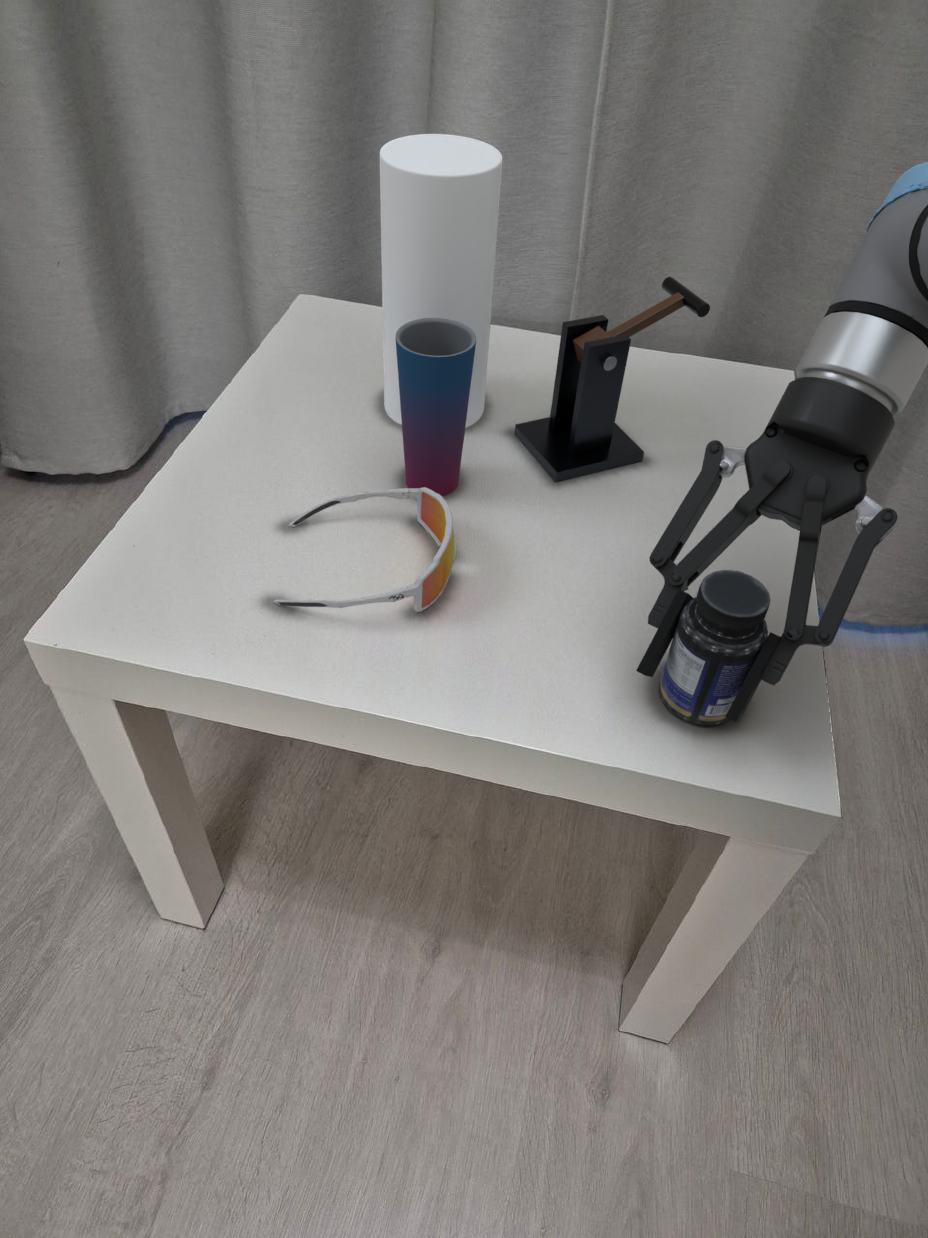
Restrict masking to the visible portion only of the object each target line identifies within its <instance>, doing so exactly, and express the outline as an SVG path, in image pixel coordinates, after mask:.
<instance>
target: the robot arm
mask: <svg viewBox="0 0 928 1238" xmlns="http://www.w3.org/2000/svg"><path fill="white" fill-rule="evenodd" d="M927 365H928V161H925V162H922V163H919V164H917V165H914V166H912V167H910V168H909V169H907V170H905V171H904V172H903V173H902V174H901V175H899V177H898V178H897V179H896V181H895V183H894V184H893V185H892V187H891V189H890V190H889V192H888V194H887V196H886V198H885V199H884V201H883V203H882V204H881V205H880V206H879V207H878V208H877V209H876V211H875V212H874V214H873V218H871V219H870V221H869V223H868V226H867V228H866V232H865V235H864V236H863V238H862V240H861V242H860V245H859V246H858V247H857V250H856V253H855V255H854V256H853V258H852V260H851V263H850V265H849V267H848V269H847V270H846V273H845V275H844V276H843V279H842V281H841V283H840V285H839V286H838V289H837V291H836V292H835V295H834V296H833V298H832V300H831V302H830V304H829V306H828V308H827V310H826V313H825V314H824V317H823V318H822V320H821V321H820V322H819V324H818V327H817V328H816V330H815V332H814V334H813V336H812V338H811V339H810V342H809V343H808V345H807V347H806V349H805V351H804V353H803V355H802V356H801V359H800V361H799V363H798V365H797V366H796V369H795V372H796V373H795V374H796V375H797V378H795V379H794V380H791V381H790V382H789V383H788V384H787V386H786V388H785V390H784V392H783V394H782V395H781V398H780V400H779V401H778V403H777V405H776V407H775V409H774V410H773V413H772V415H771V416H770V419H769V421H768V423H767V425H766V426H765V428H764V430H763V432H762V434H760V436H759V437H758V438H757V439H755V440H754V441H753V442H751V443H749V445H748V446H747V447H739V446H738V447H737V446H730V445H729V446H728V445H723V443H722V442H721V441H720V440H716V439H713V440H711V441H709V442H708V443H707V445H706V446H705V451H704V455H703V460H702V466H701V469H700V470H701V471H700V472H699V474H698V475H697V477H696V479H695V480H694V482H693V483H692V485H691V487H690V488H689V490H688V492H687V494H686V495H685V496H684V498H683V500H682V501H681V503H680V505H679V507H678V508H677V510H676V512H675V513H674V515H673V517H672V518H671V519H670V521H669V523H668V525H667V527H665V530H664V531H663V533H662V534H661V536H660V538H659V540H658V541H657V543H656V545H655V546H654V548H653V550H652V551H651V553H650V555H649V562H650V565H652V566H653V567H654V568H655V569H656V570H657V572H658V573H659V574H660V575H661V576H662V577H663V580H664V583H663V587H662V588H661V591H660V592H659V595H658V597H657V599H656V600H655V602H654V604H653V606H652V608H651V610H650V612H649V614H648V616H647V624H648V625H649V626H652V627H654V628H655V629H656V631H655V633H654V636H653V637H652V640H651V641H650V643H649V645H648V646H647V649H646V651H645V653H644V655H643V656H642V659H641V660H640V663H639V664H638V666H637V668H636V670H635V672H637V673H639V674H641V675H642V676H645V677H648V678H649V677H650V678H653V677H654V676H655V673H656V671H657V669H658V668H659V666H660V664H661V662H662V660H663V658H664V656H665V654H666V652H667V650H668V648H669V646H671V643H672V640H673V637H674V634H675V630H676V627H677V623H678V620H679V616H680V613H681V612H682V609H683V608H684V606H685V605H686V604H687V603H688V602H689V601H690V600H692V599H693V598H694V597H693V596H692V595H691V594H690V593H688V592H687V591H689V587H690V586H691V584H693V583H694V582H695V581H696V580H697V579H698V578H699V577H700V576H701V574H703V572H705V571H706V570H707V569H708V567H710V566H711V565H712V564H713V563H714V562H715V561H716V560H717V559H718V558H719V557H720V556H721V555H722V554H723V553H724V551H726V550H727V549H728V548H729V547H730V546H731V545H732V544H733V543H734V542H735V541H736V540H737V539H738V538H739V537H740V536H741V535H742V534H743V533H744V532H745V531H746V530H747V528H749V527H750V526H752V525H754V523H756V522H757V521H758V520H759V518H760V517H761V516H763V517H765V518H767V519H770V520H775V521H777V520H778V521H782V522H784V523H785V524H786V525H787V526H788V527H790V529H791V528H792V529H794V530H796V531H798V532H799V535H798V542H797V550H796V556H795V561H794V566H793V574H792V578H791V579H792V580H791V585H790V592H789V598H788V604H787V610H786V617H785V623H784V628H783V632H782V634H781V636H780V635H778V634H775V633H773V632H772V631H770V632H768V637H767V639H766V641H765V643H764V645H763V646H762V648H761V650H760V652H759V654H758V656H757V658H756V660H755V662H754V663H753V665H752V667H751V669H750V671H749V673H748V675H747V677H746V679H745V680H744V682H743V684H742V686H741V688H740V690H739V692H738V694H737V695H736V697H735V699H734V701H733V703H732V705H731V707H730V709H729V711H728V712H727V714H726V716H725V717H726V718H728V719H729V720H730V721H731V722H733V723H740V721H741V719H742V717H743V716H744V713H745V712H746V709H747V707H748V706H749V704H750V702H751V700H752V699H753V697H754V695H755V693H756V691H757V689H758V687H759V685H760V683H761V682H765V683H767V684H769V685H771V686H773V687H775V686H776V685H777V684H778V683H779V682H781V680H782V678H783V676H784V674H785V672H786V670H787V669H788V667H789V665H790V663H791V661H792V659H793V657H794V656H795V654H796V652H797V650H798V649H799V648H800V647H803V646H806V645H807V646H815V647H816V646H817V647H822V648H826V647H830V646H832V644H833V642H834V640H835V638H836V636H837V633H838V631H839V629H840V627H841V624H842V623H843V620H844V618H845V615H846V613H847V611H848V609H849V607H850V605H851V602H852V600H853V598H854V595H855V592H856V591H857V588H858V586H859V584H860V582H861V580H862V577H863V574H864V572H865V570H866V568H867V566H868V563H869V561H870V558H871V557H872V555H873V552H874V550H875V549H876V547H877V546H879V544H881V543H882V541H883V540H885V539H886V537H887V536H889V534H890V533H891V532H892V531H893V530H894V529H895V528H896V527H895V526H896V523H897V521H898V512H897V511H895V510H894V509H893V508H889V507H883V506H881V505H880V504H879V503H877V502H876V501H875V500H874V499H872V498H871V497H870V496H868V495H867V492H868V487H867V486H868V485H867V481H868V478H869V475H870V473H871V471H872V469H873V467H874V466H875V464H876V462H877V460H878V458H879V456H880V454H881V452H882V451H883V449H884V447H885V445H886V443H887V441H888V439H889V437H890V435H891V433H892V431H893V430H894V428H895V426H896V422H895V418H894V416H896V415H898V414H900V413H902V412H903V411H904V410H905V407H906V406H907V403H908V402H909V400H910V398H911V396H912V394H913V392H914V390H915V388H916V387H917V385H918V382H919V381H920V379H921V377H922V375H923V373H924V371H925V369H926V367H927ZM740 466H741V467H742V466H744V467H745V474H746V478H747V479H746V480H747V484H748V485H747V486H748V490H747V491H746V492H745V493H744V494H743V495H742V496H741V497H740V498H739V499H738V501H737V502H735V504H734V506H733V507H732V508H731V509H730V510H729V512H727V513H726V514H725V516H723V518H721V520H720V521H718V522H717V524H716V525H715V526H714V527H712V529H711V530H710V531H709V532H708V533H706V535H705V536H704V537H703V538H702V539H701V540H700V541H699V542H698V543H696V544H695V546H694V547H693V548H692V549H691V550H690V551H688V552H687V554H686V555H685V556H684V557H683V558H682V559H681V560H680V561H679V562H678V563H677V564H676V563H675V561H676V560H677V558H678V556H679V554H680V553H681V552H682V550H683V548H684V546H685V545H686V543H687V542H688V540H689V539H690V537H691V535H692V534H693V532H694V530H695V529H696V527H697V525H698V524H699V522H700V520H701V519H702V517H703V515H704V513H705V512H706V510H707V509H708V507H709V505H710V503H711V502H712V501H713V499H714V497H715V496H716V494H717V492H718V490H719V488H720V486H721V484H722V481H723V479H726V478H730V477H731V476H732V475H734V473H735V471H736V469H737V468H738V467H740ZM854 510H855V511H856V512H857V514H858V517H857V518H856V521H855V530H856V532H857V533H858V535H857V537H856V539H855V541H854V542H853V545H852V547H851V550H850V552H849V554H848V557H847V559H846V561H845V562H844V565H843V568H842V570H841V572H840V574H839V577H838V579H837V581H836V583H835V586H834V587H833V590H832V593H831V595H830V597H829V599H828V601H827V604H826V606H825V608H824V611H823V612H822V615H821V617H820V620H819V621H818V624H817V625H810V624H807V619H808V613H809V607H810V599H811V594H812V588H813V582H814V576H815V571H816V564H817V563H816V562H817V556H818V551H819V544H820V540H821V533H822V529H823V528H822V527H823V526H824V525H827V524H828V523H830V522H832V521H834V520H836V519H838V518H840V517H842V516H845V515H846V514H848V513H849V512H852V511H854ZM729 720H728V721H729Z"/></svg>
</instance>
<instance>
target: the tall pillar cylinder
mask: <svg viewBox="0 0 928 1238" xmlns="http://www.w3.org/2000/svg"><path fill="white" fill-rule="evenodd" d="M502 173H503V155H502V153H501V152H500V151H499V150H498V149H497V148H496V147H495V146H493V145H492V144H490V143H487V142H486V141H482V140H479V139H477V138H476V139H475V138H472V137H468V136H464V135H463V136H462V135H456V134H448V133H419V134H411V135H405V136H401V137H398V138H394V139H392V140H390V141H388V142H386V143H384V145H382V147H380V150H379V192H380V193H379V194H380V195H379V197H380V198H379V199H380V200H379V201H380V250H381V251H380V252H381V253H380V254H381V255H380V256H381V303H382V304H381V306H382V307H381V309H382V310H381V311H382V357H383V358H382V361H383V364H382V365H383V403H384V410H385V412H386V414H387V416H388V417H389V418H390V419H391V420H393V421H394V423H396V424H398V425H400V426H402V420H401V406H400V393H399V379H398V366H397V352H396V339H395V336H396V332H397V330H398V329H399V328H400V327H401V326H402V325H404V324H405V323H408V322H410V321H413V320H417V319H422V318H444V319H450V320H454V321H457V322H460V323H462V324H464V325H466V326H468V327H469V328H471V329H472V331H473V332H474V333H475V335H476V347H475V355H474V363H473V371H472V379H471V387H470V394H469V402H468V410H467V418H466V426H465V429H467V428H469V427H470V426H472V425H474V424H476V423H477V422H478V421H479V420H480V419H481V417H482V416H483V415H484V411H485V404H486V403H485V402H486V390H487V389H486V388H487V375H488V363H489V362H488V361H489V347H490V337H491V335H490V333H491V321H492V309H493V307H492V306H493V295H494V294H493V293H494V283H495V268H496V255H497V243H498V242H497V241H498V227H499V226H498V225H499V215H500V214H499V213H500V200H501V199H500V198H501V187H502V175H503V174H502Z"/></svg>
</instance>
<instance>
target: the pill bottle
mask: <svg viewBox="0 0 928 1238" xmlns="http://www.w3.org/2000/svg"><path fill="white" fill-rule="evenodd" d="M770 605H771V595H770V592H769V590H768V588H766V586H765V585H764V583H762V582H761V581H760V580H758V579H757V578H756V577H754V576H753V575H750V574H748V573H745V572H743V571H739V570H733V569H721V570H715V571H712V572H711V573H709V574H707V575H706V576H705V577H704V578H703V579H702V581H701V583H700V584H699V587H698V590H697V592H696V596H695V597H693V599H692V600H690V601H689V602H688V603H687V604H686V605H685V606H684V608H683V609H682V612H681V613H680V616H679V620H678V623H677V627H676V630H675V634H674V637H673V639H672V641H671V643H670V647H669V650H668V653H667V656H666V660H665V663H664V667H663V670H662V673H661V676H660V679H659V685H658V691H659V695H660V699H661V701H662V703H663V704H664V706H665V707H666V709H667V710H668V711H669V712H671V713H672V714H673V715H674V716H676V717H677V718H678V719H681V720H682V721H685V722H687V723H691V724H694V725H700V726H716V725H720V724H723V723H725V722H727V721H729V719H728V718H726V717H725V716H726V714H727V712H728V711H729V709H730V707H731V705H732V703H733V701H734V699H735V697H736V695H737V694H738V692H739V690H740V688H741V686H742V684H743V682H744V680H745V679H746V677H747V675H748V673H749V671H750V669H751V667H752V665H753V663H754V662H755V660H756V658H757V656H758V654H759V652H760V650H761V648H762V646H763V645H764V643H765V641H766V639H767V637H768V635H769V629H768V624H767V621H766V620H765V619H766V617H767V614H768V611H769V608H770Z"/></svg>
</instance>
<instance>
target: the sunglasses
mask: <svg viewBox="0 0 928 1238" xmlns="http://www.w3.org/2000/svg"><path fill="white" fill-rule="evenodd" d="M377 497H380V498H381V497H386V498H393V499H398V500H405V499H411V500H416V506H417V507H416V509H417V512H416V513H417V514H416V520H417V523H419V524H420V525H421V526H422V528H424V529H425V530H426V532H427V533H428V535H430V537H432V538H433V540H434V541H435V544H437V546H438V548H437V552H436V554H435V555H434V556H433V558H432V562H431V563H430V564H429V566H427V568H426V569H425V570H424V571H423V572H422V573H421V574H420V575H419V576H418V577H417V578H416V579H415V581H414V582H413V583H411V584H408V585H405V586H402V587H399V588H395V589H393V590H389V591H386V592H383V593H379V594H375V595H369V596H364V597H360V598H351V599H341V600H340V599H339V600H335V599H274V600H273V603H275V604H276V605H278V606H281V607H294V608H296V607H297V608H299V607H300V608H330V609H331V608H335V609H344V608H349V607H354V606H361V605H367V604H379V603H396V602H399V601H401V600H404V599H407V598H411V597H413V611H414V612H416V613H420V612H421V613H422V612H423V611H425V610H427V609H428V608H429V607H431V606H432V605H433V604H434V603H435V602H437V600H438V599H439V597H440V596H441V595H442V593H443V592H444V590H445V588H446V587H447V584H448V582H449V580H450V577H451V573H452V572H453V567H454V564H455V560H456V557H457V549H458V543H457V541H455V534H454V526H453V525H454V518H453V515H452V510H451V508H450V506H449V504H448V502H447V501H446V500H445V498H444V496H441V495H440V494H439V493H438V494H437V493H435V492H434V491H432V490H430V489H428V488H426V487H422V488H408V487H403V488H401V487H400V488H388V489H379V490H378V489H377V490H369V491H364V492H359V493H352V494H345V495H339V496H336V497H333V498H330V499H328V500H326V501H323V502H321V503H319V504H317V505H315V506H314V507H312V508H310V509H308V510H307V511H305V512H304V513H302V514H301V515H299V516H298V517H296V518H295V519H293V520H292V521H291V522H289V524H288V526H289V527H291V528H295V527H297V526H299V525H300V524H302V523H303V522H305V521H306V520H308V519H310V518H311V517H313V516H315V515H316V514H319V513H320V512H322V511H325V510H327V509H329V508H331V507H334V506H337V505H342V504H346V503H354V502H359V501H361V500H365V499H371V498H377Z"/></svg>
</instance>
